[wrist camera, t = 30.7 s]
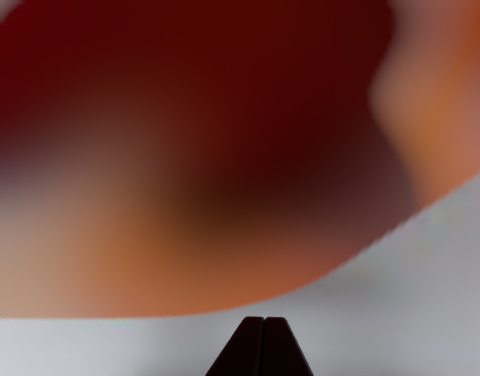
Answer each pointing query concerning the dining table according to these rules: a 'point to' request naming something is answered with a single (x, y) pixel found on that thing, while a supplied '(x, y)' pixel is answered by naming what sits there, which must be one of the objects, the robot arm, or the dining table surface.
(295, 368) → the robot arm
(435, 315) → the dining table surface
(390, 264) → the dining table surface
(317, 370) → the dining table surface
